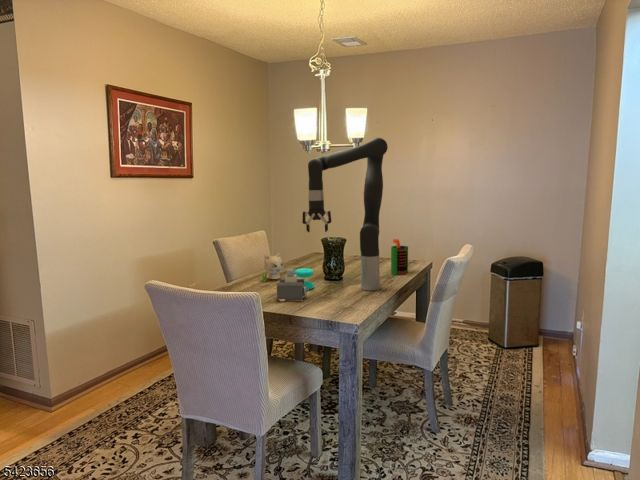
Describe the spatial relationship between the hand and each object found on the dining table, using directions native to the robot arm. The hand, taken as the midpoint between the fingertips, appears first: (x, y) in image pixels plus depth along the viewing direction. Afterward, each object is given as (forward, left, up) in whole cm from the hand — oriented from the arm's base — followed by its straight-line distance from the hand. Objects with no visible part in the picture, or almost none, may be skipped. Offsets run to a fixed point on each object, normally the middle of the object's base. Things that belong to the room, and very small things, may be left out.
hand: (317, 232), depth 230 cm
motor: (-43, -39, -30) cm, 66 cm away
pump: (+12, +14, -23) cm, 29 cm away
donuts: (+8, -5, -30) cm, 32 cm away
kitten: (+28, -25, -30) cm, 48 cm away
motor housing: (+12, +14, -30) cm, 35 cm away
